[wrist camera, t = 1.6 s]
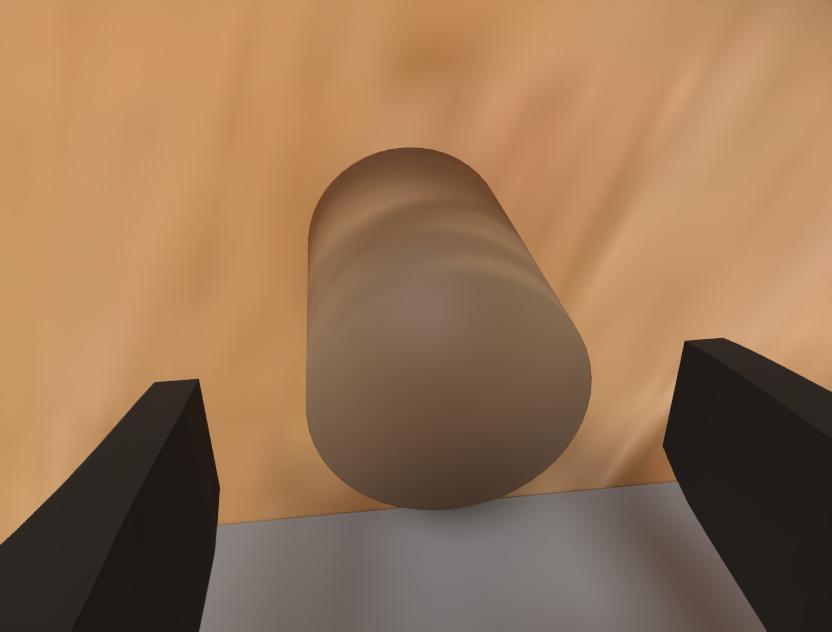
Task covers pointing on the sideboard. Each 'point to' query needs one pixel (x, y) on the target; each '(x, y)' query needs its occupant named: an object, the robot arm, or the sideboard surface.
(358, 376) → the peg
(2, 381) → the sideboard surface
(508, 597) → the socket box
